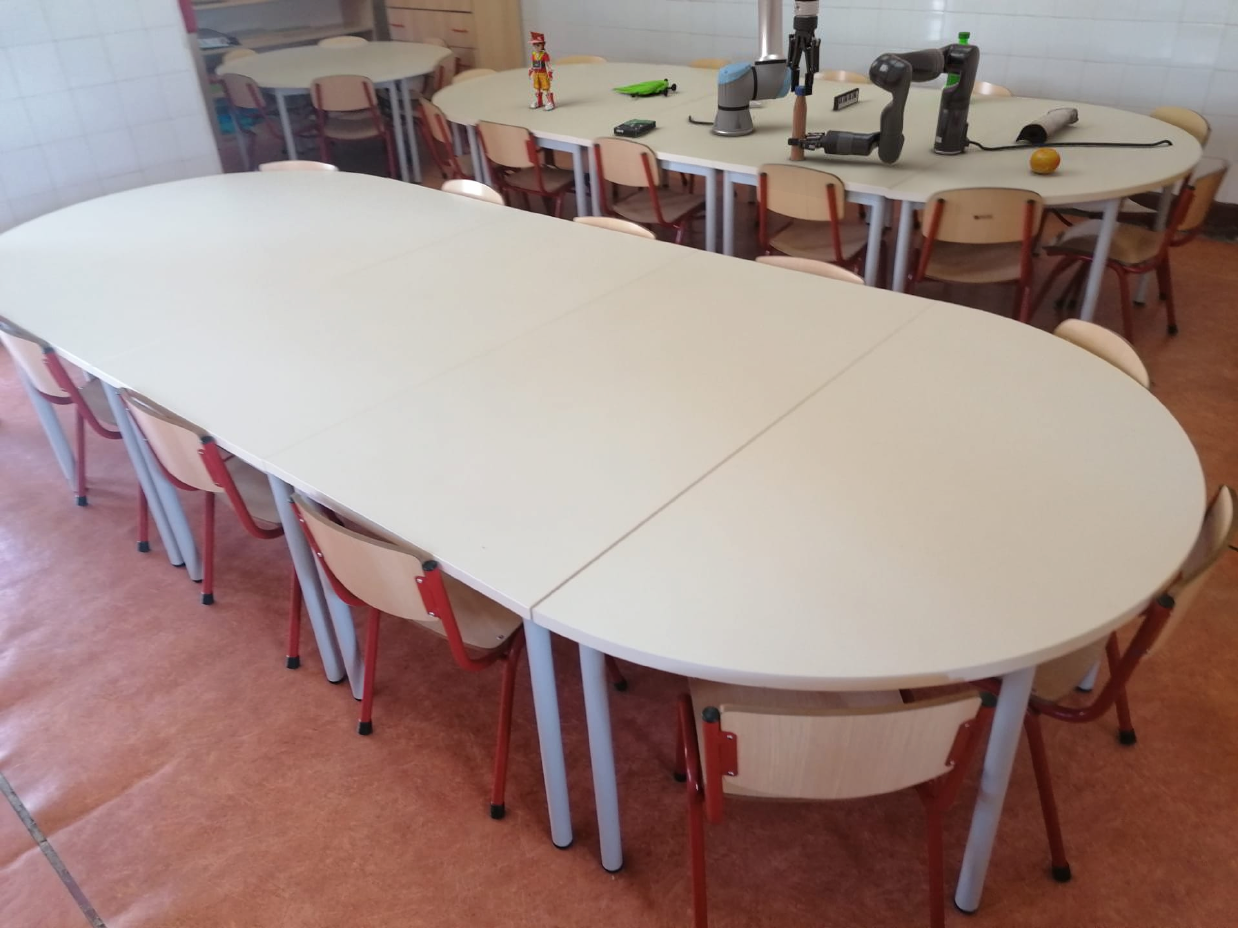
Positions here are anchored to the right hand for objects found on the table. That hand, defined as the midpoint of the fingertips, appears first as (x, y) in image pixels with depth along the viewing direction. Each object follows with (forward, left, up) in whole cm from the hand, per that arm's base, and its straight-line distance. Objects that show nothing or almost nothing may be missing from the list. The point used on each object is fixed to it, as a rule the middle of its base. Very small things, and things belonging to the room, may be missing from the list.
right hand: (790, 139), depth 302 cm
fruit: (-74, +28, -6) cm, 80 cm away
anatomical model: (+7, -77, -6) cm, 78 cm away
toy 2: (+50, -109, -6) cm, 120 cm away
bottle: (-2, +1, -6) cm, 7 cm away
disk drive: (+53, -44, -6) cm, 69 cm away
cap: (-2, +1, +17) cm, 17 cm away
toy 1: (+92, -90, -6) cm, 129 cm away
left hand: (-2, +1, +15) cm, 15 cm away
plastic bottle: (-74, -64, -6) cm, 98 cm away
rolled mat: (-91, -13, -6) cm, 92 cm away
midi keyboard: (-32, -66, -6) cm, 74 cm away
